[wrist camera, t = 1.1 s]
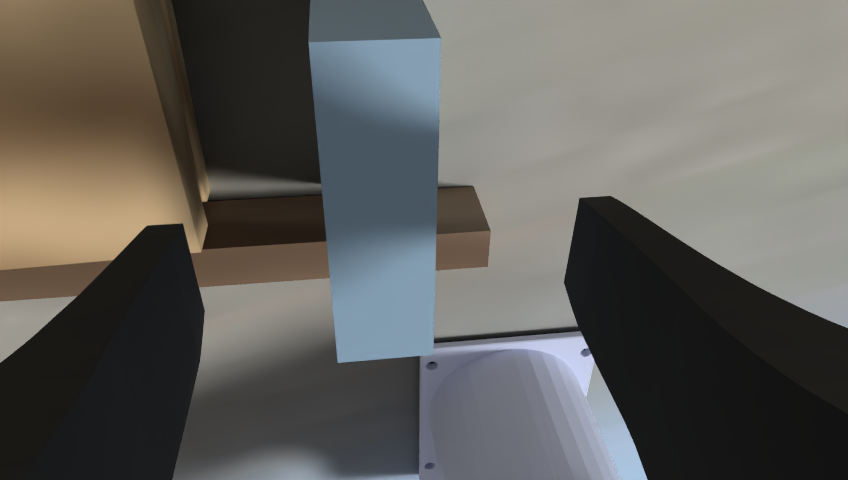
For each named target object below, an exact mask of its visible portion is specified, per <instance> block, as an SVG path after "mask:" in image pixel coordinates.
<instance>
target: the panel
mask: <svg viewBox="0 0 848 480" xmlns="http://www.w3.org/2000/svg"><path fill="white" fill-rule="evenodd" d="M308 44H309V55H310V66H311V77H312V88H313V99H314V110H315V120H316V131H317V142H318V153H319V164H320V175H321V186H322V197H323V208H324V219H325V230H326V241H327V252H328V262H329V273H330V284H331V295H332V306H333V317H334V328H335V339H336V350H337V361H338V363H343V362H354V361H366V360H378V359H389V358H401V357H412V356H424V355H433V349H434V308H435V268H436V228H437V188H438V148H439V107H440V67H441V37H440V35H439V32H438V30H437V28H436V26H435V24H434V22H433V20H432V18H431V16H430V14H429V12H428V10H427V8H426V6H425V4H424V2H423V0H310V17H309V39H308Z"/></svg>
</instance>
